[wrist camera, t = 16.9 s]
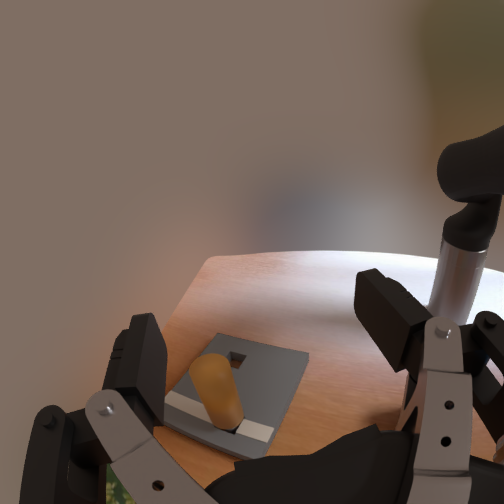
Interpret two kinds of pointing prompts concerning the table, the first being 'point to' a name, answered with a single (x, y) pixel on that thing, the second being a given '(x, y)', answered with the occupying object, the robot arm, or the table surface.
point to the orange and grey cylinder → (217, 391)
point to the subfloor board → (241, 397)
